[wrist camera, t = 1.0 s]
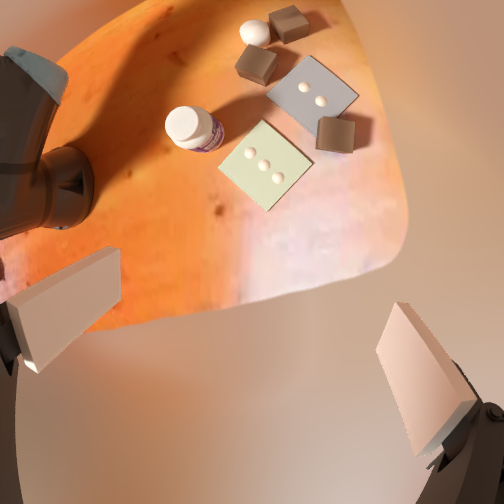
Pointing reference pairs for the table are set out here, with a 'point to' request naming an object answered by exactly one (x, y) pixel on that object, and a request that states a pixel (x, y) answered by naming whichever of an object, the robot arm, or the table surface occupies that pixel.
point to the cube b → (289, 24)
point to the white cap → (255, 33)
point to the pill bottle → (194, 129)
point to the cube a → (257, 64)
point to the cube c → (335, 135)
